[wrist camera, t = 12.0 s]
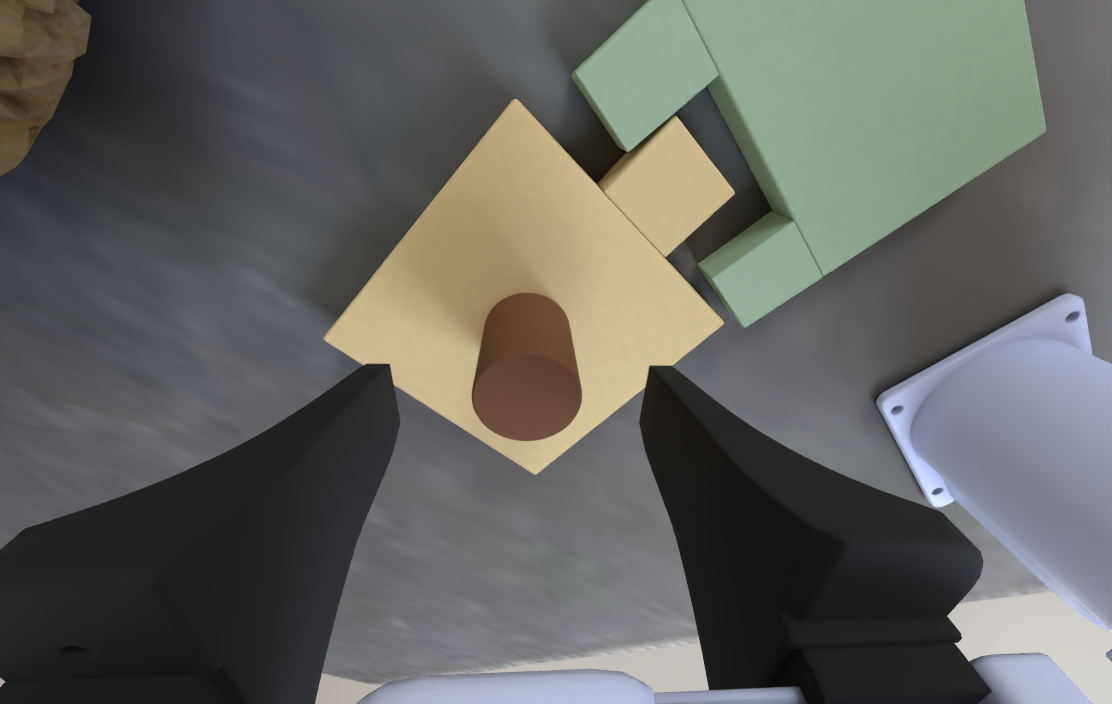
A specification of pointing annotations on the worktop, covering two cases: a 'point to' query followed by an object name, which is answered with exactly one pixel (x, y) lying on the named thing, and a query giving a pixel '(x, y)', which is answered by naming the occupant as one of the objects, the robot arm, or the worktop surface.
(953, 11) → the pad
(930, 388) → the robot arm
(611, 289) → the pad
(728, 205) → the worktop surface
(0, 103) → the sponge
